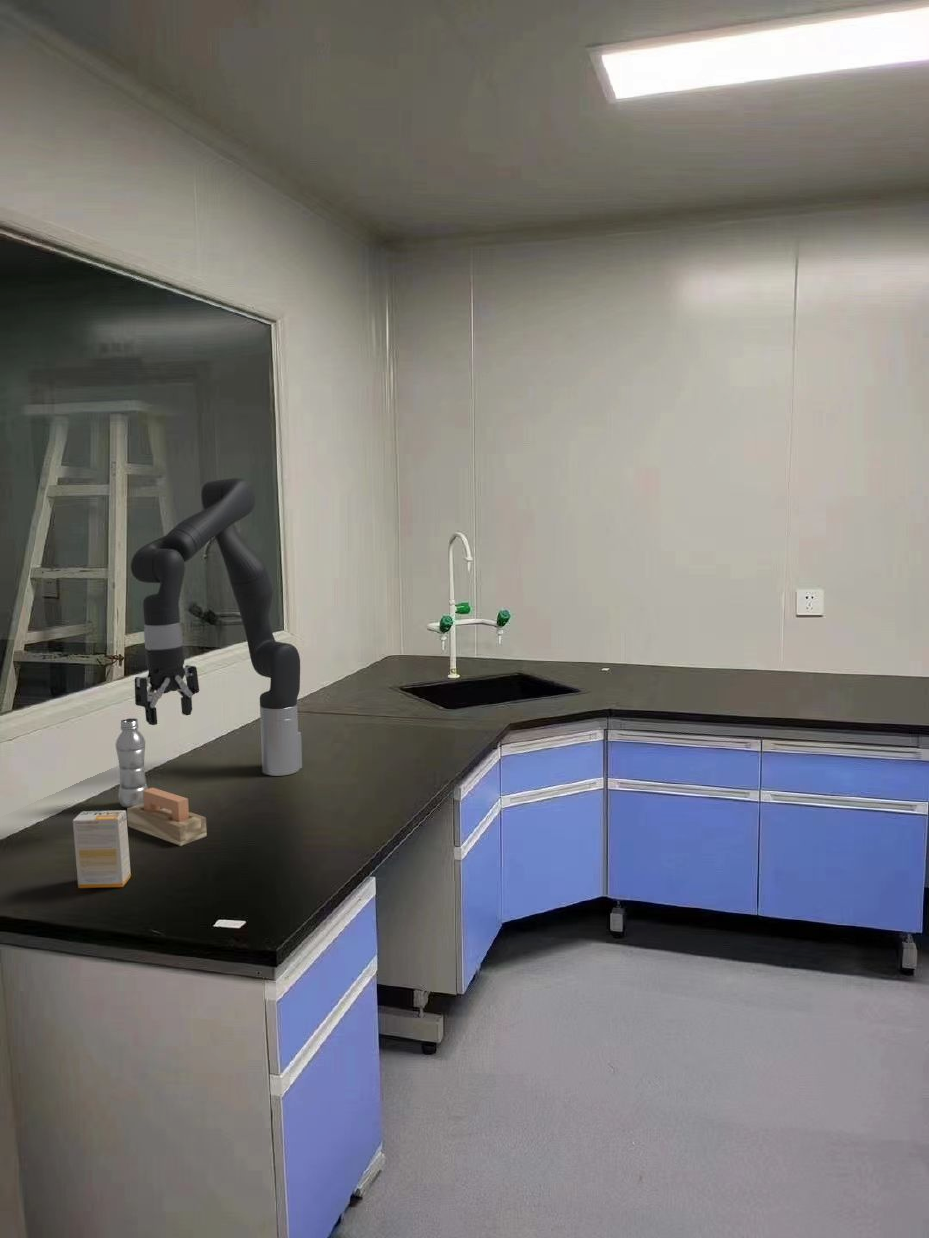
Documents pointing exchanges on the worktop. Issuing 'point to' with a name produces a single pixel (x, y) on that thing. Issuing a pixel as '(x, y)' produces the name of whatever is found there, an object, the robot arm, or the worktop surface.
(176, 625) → the robot arm
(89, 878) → the supplement box
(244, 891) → the worktop surface
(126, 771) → the metal bottle
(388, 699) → the worktop surface
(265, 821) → the worktop surface
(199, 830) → the rail
